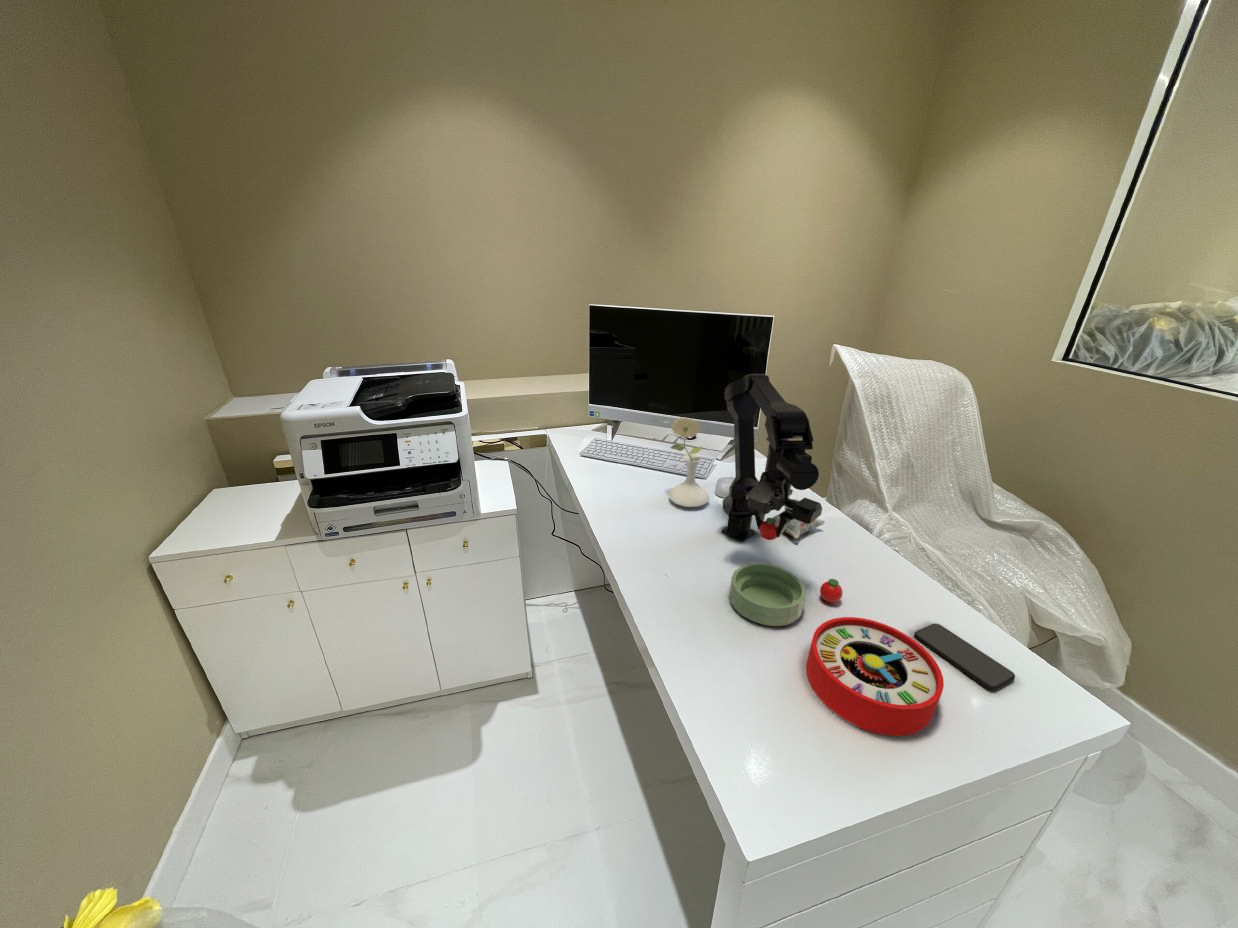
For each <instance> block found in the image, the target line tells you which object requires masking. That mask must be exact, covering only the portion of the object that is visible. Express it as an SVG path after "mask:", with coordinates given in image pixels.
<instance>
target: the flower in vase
mask: <svg viewBox="0 0 1238 928" xmlns="http://www.w3.org/2000/svg"><path fill="white" fill-rule="evenodd" d="M699 425H700V424H699V422H698V421H696V420H693V418H691V417H690V418H688V417H684V418H683V416H680V417H679V418H676V419H675V420H673V422H672V423H671V424H670V428H671V431H673V434H675V435H677V436H680V437H682V438H683V445H681V444H679V443H676V444H675V443H674V444H672V445H671V446H670V449H673V450H676V451H679V452H682V451H684V450H685V452H686V453H687V454H684V456H683V460H684V461H685V464H686V478H685V480H684V482H682V483H679V484H678V485H675V486H674V487H673V488H672V489H670V492H669V494H668V497H669V499H670V500H671V502H672V503H674V504H675V505H678V506H680V507H685V508H699V507H702V506H705V505H706V504H707V503H708V502H709V500H710V496H709V494H708V491H706V489H704V488H703V487H702V486H700V485H699V484H698V483H697V482H696V470H697V467H698V464H699V463H700V462H701V461H702V457H701V456H700V455H698V453H699V452H700V451H702V449H703V445H702V446H697V447H693V448H692V449H691V450H690V451H688V449H687V447H686V438H689V437H690V438H692V437H693V436H694V437H696V436H698V434H699V433H700V432H701V427H700V426H699Z"/></svg>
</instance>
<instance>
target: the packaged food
mask: <svg viewBox="0 0 1238 928" xmlns="http://www.w3.org/2000/svg"><path fill="white" fill-rule="evenodd" d="M772 518H774V519H775V520H776V523H777V524H778V526H779V522H780V516H779V514H776V515H774V516H773V517H772ZM825 523H826V522H825V520H821V519H818V518H817V519H815V520H814V521H813V522H811V523H810V524H806V523H804V522H801V521H799V520H796V519H794V520H791V521H790V523H789V524H788V526H787V527H786V529H785V530H784V531H783V533H786V534H788V535H790V536H792V537H793V538H794V539H795V540H797V539H799V538H800V536H802V535H804V534H805V533H807V532H810V531H811V530H814V529H817V528H818V527H820V526H823V525H824V524H825Z"/></svg>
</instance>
